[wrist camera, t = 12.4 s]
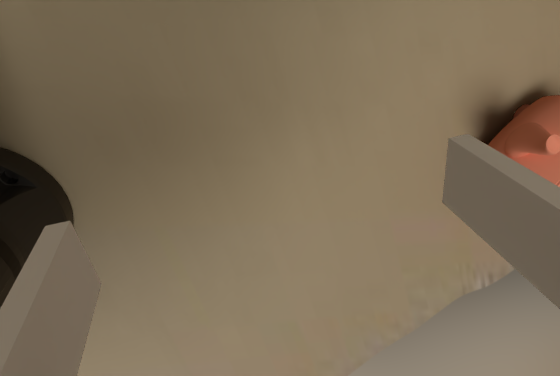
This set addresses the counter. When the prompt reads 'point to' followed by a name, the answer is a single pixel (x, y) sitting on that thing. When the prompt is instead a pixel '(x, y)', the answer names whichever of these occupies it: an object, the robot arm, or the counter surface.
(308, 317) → the counter surface
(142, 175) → the counter surface
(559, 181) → the teapot
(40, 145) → the counter surface
